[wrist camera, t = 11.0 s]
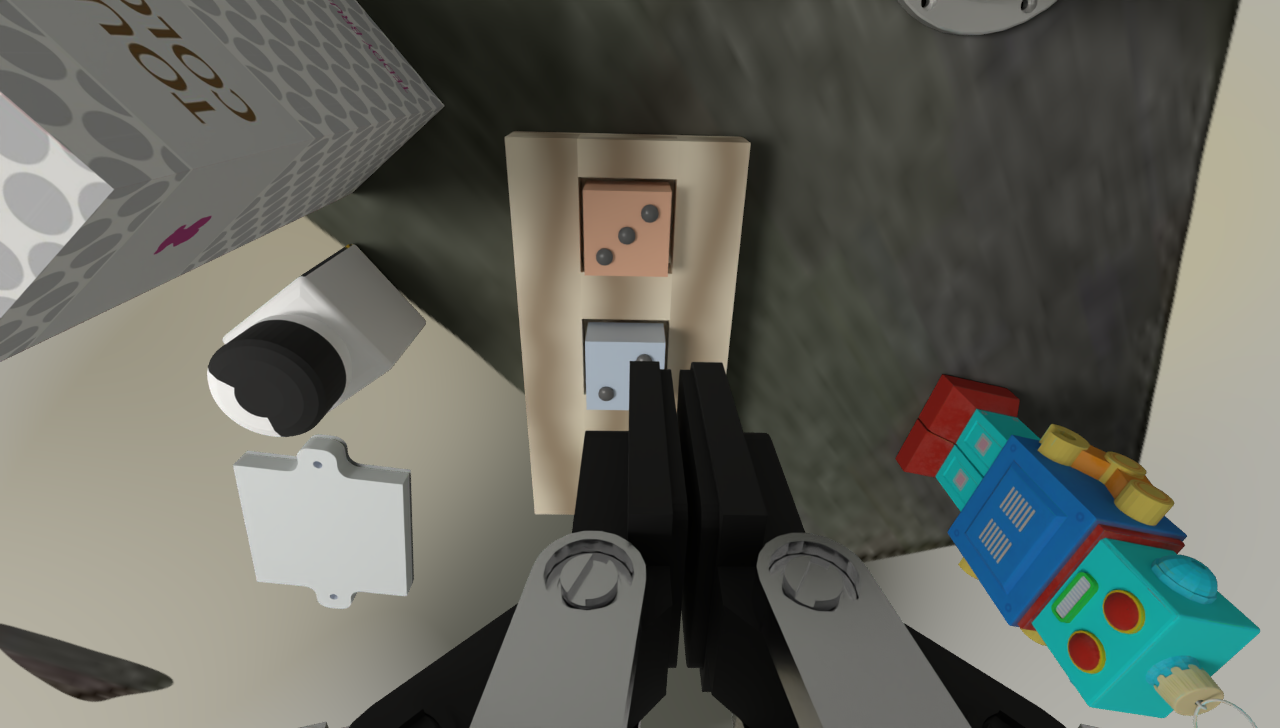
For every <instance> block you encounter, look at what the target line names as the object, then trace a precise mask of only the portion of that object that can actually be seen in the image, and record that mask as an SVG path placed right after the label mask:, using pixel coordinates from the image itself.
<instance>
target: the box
mask: <svg viewBox="0 0 1280 728" xmlns="http://www.w3.org/2000/svg"><path fill="white" fill-rule="evenodd" d="M443 107H444V104H443V103H442V102H441V101H440V100H439V98H438V97H437V96H436V95H435V94H434V92H433V91H432V90H431V89H430V88H429V87H428V85H427V84H426V83H425V82H424V81H423V79H422V78H421V77H420V76H419V75H418V73H417V72H416V71H415V70H414V69H413V68H412V66H411V65H410V64H409V63H408V62H407V60H406V59H405V58H404V57H403V56H402V54H401V53H400V52H399V51H398V50H397V49H396V47H395V46H394V45H393V44H392V43H391V41H390V40H389V39H388V38H387V37H386V35H385V34H384V33H383V32H382V31H381V29H380V28H379V27H378V26H377V25H376V24H375V22H374V21H373V20H372V19H371V18H370V16H369V15H368V14H367V13H366V12H365V10H364V9H363V8H362V7H361V6H360V5H359V3H358V2H357V1H356V0H0V362H1V361H3V360H5V359H7V358H9V357H12V356H13V355H16V354H18V353H20V352H22V351H24V350H26V349H28V348H30V347H32V346H35V345H36V344H39V343H41V342H43V341H45V340H47V339H49V338H51V337H53V336H55V335H57V334H59V333H61V332H64V331H66V330H68V329H70V328H72V327H74V326H76V325H78V324H80V323H82V322H84V321H86V320H89V319H91V318H93V317H95V316H97V315H99V314H101V313H103V312H105V311H107V310H110V309H112V308H114V307H116V306H118V305H120V304H122V303H124V302H126V301H128V300H130V299H132V298H134V297H137V296H139V295H141V294H143V293H145V292H147V291H149V290H151V289H153V288H155V287H157V286H160V285H161V284H164V283H166V282H168V281H170V280H172V279H174V278H176V277H178V276H180V275H182V274H185V273H186V272H189V271H191V270H193V269H195V268H197V267H199V266H201V265H203V264H205V263H207V262H210V261H212V260H214V259H216V258H218V257H220V256H222V255H224V254H226V253H228V252H230V251H232V250H235V249H237V248H238V247H241V246H243V245H245V244H247V243H249V242H251V241H253V240H255V239H258V238H260V237H262V236H264V235H266V234H268V233H270V232H272V231H274V230H276V229H278V228H280V227H283V226H285V225H287V224H289V223H290V222H293V221H295V220H297V219H299V218H301V217H303V216H306V215H308V214H310V213H312V212H314V211H316V210H318V209H320V208H322V207H324V206H326V205H328V204H331V203H333V202H335V201H337V200H339V199H341V198H343V197H345V196H347V195H349V194H351V193H353V192H354V191H355V190H356V189H357V188H358V187H359V186H360V185H361V184H362V183H363V182H364V181H365V180H366V179H367V178H369V177H370V176H371V175H372V174H373V173H374V172H375V171H376V170H377V169H378V168H379V167H380V166H381V165H382V164H383V163H385V162H386V161H387V160H388V159H389V158H390V157H391V156H392V155H393V154H394V153H395V152H396V151H397V150H398V149H399V148H401V147H402V146H403V145H404V144H405V143H406V142H407V141H408V140H409V139H410V138H411V137H412V136H413V135H414V134H415V133H416V132H418V131H419V130H420V129H421V128H422V127H423V126H424V125H425V124H426V123H427V122H428V121H429V120H430V119H431V118H432V117H434V116H435V115H436V114H437V113H438V112H439V111H440V110H441V109H442V108H443Z"/></svg>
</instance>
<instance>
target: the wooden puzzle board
mask: <svg viewBox="0 0 1280 728" xmlns="http://www.w3.org/2000/svg"><path fill="white" fill-rule="evenodd" d="M750 145H751V143H750V142H749V141H747V140H746V139H745V138H743V137H736V136H694V135H652V134H610V133H568V132H526V131H514V132H512V133H510V134H509V135H507V136H505V149H506V162H507V174H508V186H509V199H510V211H511V223H512V236H513V248H514V261H515V273H516V285H517V298H518V310H519V322H520V335H521V347H522V360H523V372H524V384H525V397H526V409H527V421H528V434H529V446H530V459H531V471H532V483H533V495H534V508H535V514H574V513H575V505H576V498H577V490H578V482H579V474H580V466H581V459H582V451H583V443H584V436H585V431H586V430H587V431H629V410H587V403H586V360H585V339H586V333H587V327H588V322H615V323H663V326H664V334H665V363H664V369H671V372H672V380H673V389H674V397H675V405H676V413H677V401H678V385H679V372H680V369H681V370H690V367H691V363H692V362H722V363H723V366H724V369H725V373H726V371H727V361H728V352H729V343H730V333H731V324H732V314H733V305H734V296H735V286H736V277H737V267H738V258H739V249H740V239H741V230H742V221H743V211H744V202H745V192H746V183H747V174H748V164H749V155H750ZM587 180H595V181H640V182H669V184H670V188H671V191H672V197H671V218H670V239H669V260H668V277H644V276H591V275H585V266H584V222H583V188H584V186H585V183H586V181H587Z"/></svg>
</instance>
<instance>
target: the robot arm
mask: <svg viewBox="0 0 1280 728" xmlns="http://www.w3.org/2000/svg"><path fill="white" fill-rule="evenodd" d="M897 1H898V2H899V3H900V5H901V6H902V7H903V8H904V9H905V10H906V12H907V13H908V14H909V15H911V16H912V17H914V18H915V19H916V20H918V21H919V22H920V23H922V24H923V25H925V26H927V27H930V28H932V29H935V30H937V31H940V32H942V33H948V34H955V35H962V36H964V35H982V34H988V33H993V32H998V31H1003V30H1006V29H1009V28H1011V27H1014V26H1016V25H1019V24H1021V23H1024V22H1026V21H1028V20H1029V19H1031V18H1033V17H1034V16H1036V15H1038V14H1039V13H1041V12H1043V11H1044V10H1046V9H1048V8H1049V7H1050V6H1051V5H1053V4H1054V3H1055V2H1056V1H1057V0H926V4H925V6H924V7H922V6H921V0H897ZM1022 1H1023V7H1022V9H1021V3H1022ZM681 610H682V620H683V632H684V643H685V653H686V654H685V655H686V664H687V667H688V668H700V676H701V685H702V692H711V693H712V695H713V696H714V697H715V698H716V699H717V700H718V701H720V702H721V703H722V704H723V705H724V706H725V707H726V708H728V709H729V710H730V711H731V712H732V722H733V728H1066V727H1065V726H1064V725H1063V724H1061V723H1060V722H1059V721H1057V720H1056V719H1055V718H1053V717H1052V716H1051V715H1049V714H1048V713H1047V712H1045V711H1044V710H1043V709H1041V708H1039V707H1038V706H1037V705H1035V704H1033V703H1032V702H1030V701H1028V700H1027V699H1025V698H1024V697H1022V696H1020V695H1019V694H1017V693H1016V692H1014V691H1012V690H1011V689H1009V688H1008V687H1006V686H1004V685H1003V684H1001V683H999V682H998V681H996V680H995V679H993V678H991V677H990V676H988V675H986V674H985V673H983V672H982V671H980V670H979V669H977V668H975V667H974V666H972V665H970V664H969V663H967V662H966V661H964V660H962V659H961V658H959V657H958V656H956V655H954V654H953V653H951V652H950V651H948V650H946V649H945V648H943V647H941V646H940V645H938V644H937V643H935V642H933V641H932V640H930V639H929V638H927V637H925V636H924V635H922V634H920V633H919V632H917V631H915V630H914V629H912V628H911V627H909V626H907V625H906V624H904V623H903V622H902V620H901V619H900V617H899V616H898V614H897V613H896V611H895V609H894V608H893V606H892V605H891V603H890V602H889V600H888V599H887V597H886V596H885V594H884V593H883V591H882V589H881V588H880V586H879V585H878V584H877V582H876V580H875V579H874V577H873V576H872V574H871V573H870V571H869V570H868V568H867V567H866V566H865V564H864V563H863V562H862V561H861V560H860V559H859V557H858V556H857V555H856V554H854V553H853V552H852V551H850V550H849V549H848V548H846V547H845V546H843V545H842V544H840V543H838V542H836V541H833V540H831V539H829V538H827V537H824V536H819V535H815V534H811V533H805V531H804V528H803V525H802V523H801V520H800V517H799V514H798V512H797V509H796V506H795V503H794V501H793V498H792V495H791V492H790V490H789V487H788V484H787V481H786V479H785V476H784V473H783V470H782V468H781V465H780V462H779V459H778V457H777V454H776V451H775V448H774V446H773V443H772V440H771V438H770V436H769V434H767V433H743V430H742V427H741V423H740V420H739V417H738V413H737V410H736V406H735V403H734V400H733V396H732V393H731V389H730V386H729V383H728V379H727V376H726V373H725V369H724V366H723V363H722V362H692V363H691V367H690V370H681V369H680V372H679V385H678V401H677V413H676V405H675V397H674V389H673V380H672V372H671V369H660V363H659V361H630V373H629V431H587V430H586V431H585V436H584V443H583V451H582V459H581V466H580V474H579V482H578V490H577V498H576V505H575V513H574V521H573V529H572V534H568V535H566V536H564V537H562V538H560V539H558V540H556V541H553V542H552V543H551V544H550V545H549V546H547V547H546V548H545V549H544V550H543V551H542V552H541V553H540V555H539V556H538V558H537V560H536V562H535V563H534V565H533V567H532V569H531V572H530V575H529V578H528V580H527V582H526V585H525V587H524V590H523V592H522V595H521V598H520V600H519V603H518V604H516V605H515V606H513V607H512V608H510V609H509V610H508V611H506V612H505V613H503V614H502V615H500V616H499V617H498V618H496V619H495V620H493V621H492V622H490V623H489V624H488V625H486V626H485V627H483V628H482V629H481V630H479V631H478V632H476V633H475V634H473V635H472V636H470V637H469V638H468V639H466V640H465V641H463V642H462V643H461V644H459V645H458V646H456V647H455V648H453V649H452V650H450V651H449V652H448V653H446V654H445V655H444V656H442V657H441V658H439V659H438V660H437V661H435V662H433V663H432V664H431V665H429V666H428V667H427V668H425V669H423V670H422V671H421V672H419V673H418V674H416V675H415V676H413V677H412V678H411V679H409V680H408V681H407V682H405V683H404V684H402V685H401V686H399V687H398V688H396V689H395V690H393V691H392V692H391V693H389V694H388V695H386V696H385V697H384V698H382V699H381V700H379V701H378V702H376V703H375V704H373V705H372V706H371V707H370V708H369V709H367V710H366V711H365V712H364V713H363V714H362V715H361V716H360V717H358V718H357V719H356V720H355V721H354V722H353V723H352V724H351V725H350V726H348V727H343V728H640V721H641V720H642V719H643V717H644V716H645V715H646V714H647V713H648V712H649V711H650V710H651V709H652V708H653V707H654V706H655V705H656V704H657V703H658V702H659V701H660V700H661V699H662V698H663V697H664V696H665V695H666V686H667V672H668V668H676V666H677V655H678V643H679V631H680V619H681ZM301 728H328V725H327V722H323V723H318V724H314V725H310V726H305V727H301ZM1078 728H1097V727H1093V726H1089V725H1084V724H1080V726H1079V727H1078Z"/></svg>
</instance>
